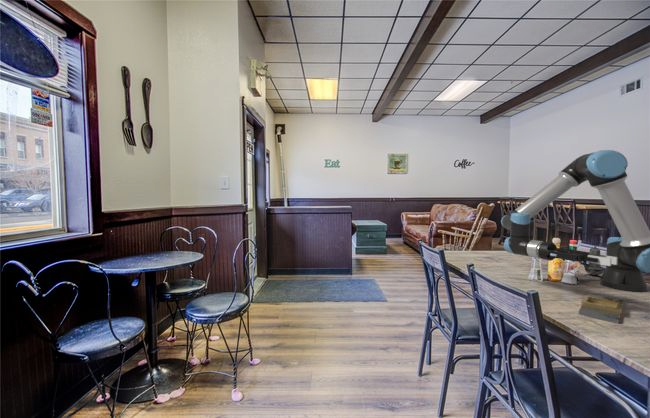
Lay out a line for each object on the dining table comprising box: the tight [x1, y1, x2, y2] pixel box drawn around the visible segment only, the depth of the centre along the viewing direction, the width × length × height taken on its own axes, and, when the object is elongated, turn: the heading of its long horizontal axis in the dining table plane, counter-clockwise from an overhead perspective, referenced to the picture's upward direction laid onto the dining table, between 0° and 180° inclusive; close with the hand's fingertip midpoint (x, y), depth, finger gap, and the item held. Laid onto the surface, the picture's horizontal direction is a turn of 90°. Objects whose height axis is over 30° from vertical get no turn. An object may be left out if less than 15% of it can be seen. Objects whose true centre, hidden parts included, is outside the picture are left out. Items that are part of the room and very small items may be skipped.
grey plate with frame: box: [578, 293, 624, 325], centre depth 107 cm, size 26×10×2 cm, turn 132°
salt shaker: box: [583, 245, 606, 280], centre depth 108 cm, size 6×6×12 cm
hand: (613, 261), depth 103 cm, fingers closed on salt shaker, 3 cm apart
